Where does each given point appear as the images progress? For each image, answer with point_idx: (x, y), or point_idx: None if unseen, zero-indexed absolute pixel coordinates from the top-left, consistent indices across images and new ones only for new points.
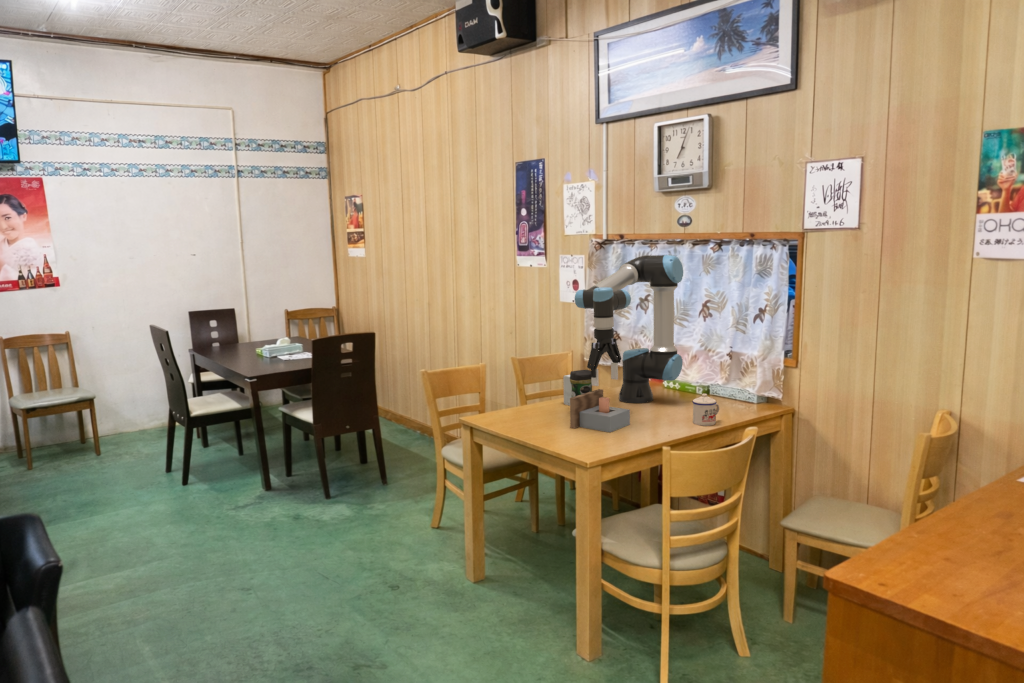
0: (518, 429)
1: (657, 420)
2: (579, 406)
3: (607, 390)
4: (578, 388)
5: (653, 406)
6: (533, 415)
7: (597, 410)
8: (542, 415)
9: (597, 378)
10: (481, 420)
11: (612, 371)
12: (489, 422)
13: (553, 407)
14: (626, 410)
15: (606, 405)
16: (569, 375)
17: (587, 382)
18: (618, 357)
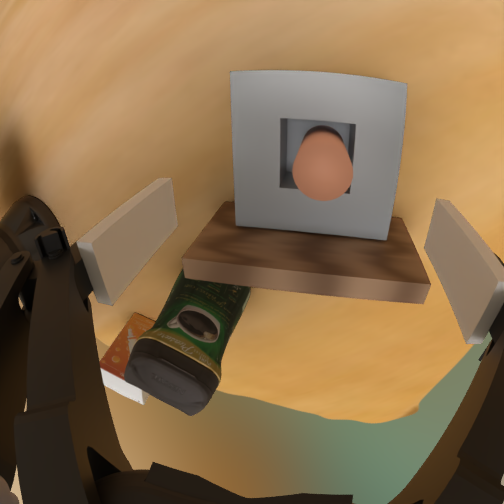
0: (445, 335)
1: (138, 44)
2: (384, 254)
3: None
4: (219, 346)
5: (44, 162)
6: (307, 365)
7: None
8: (296, 352)
9: (473, 229)
10: (390, 407)
11: (148, 243)
12: (401, 395)
13: None
14: (254, 73)
15: (338, 142)
16: (131, 395)
17: (179, 341)
18: (22, 279)
